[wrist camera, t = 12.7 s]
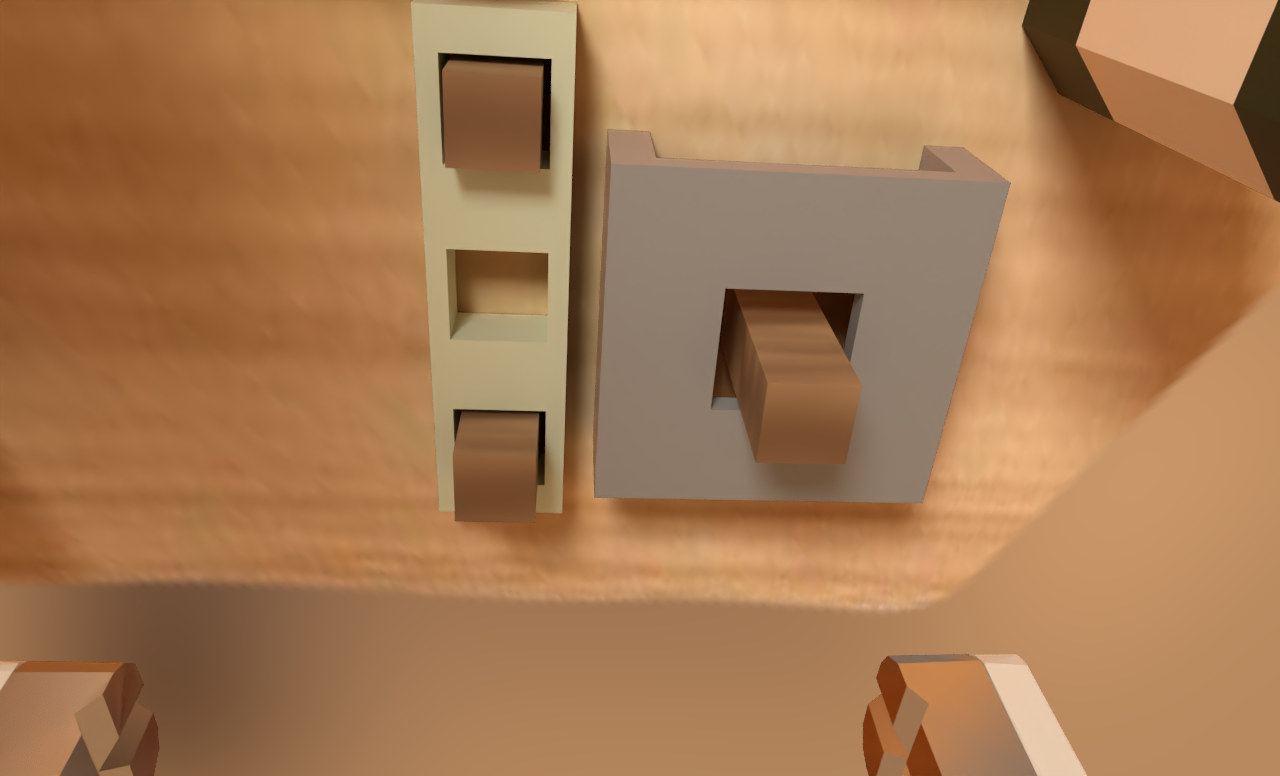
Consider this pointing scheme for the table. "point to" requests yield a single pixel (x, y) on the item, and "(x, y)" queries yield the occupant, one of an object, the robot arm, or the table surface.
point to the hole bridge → (789, 261)
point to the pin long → (789, 377)
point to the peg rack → (496, 232)
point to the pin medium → (496, 466)
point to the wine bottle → (1174, 74)
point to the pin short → (493, 112)
